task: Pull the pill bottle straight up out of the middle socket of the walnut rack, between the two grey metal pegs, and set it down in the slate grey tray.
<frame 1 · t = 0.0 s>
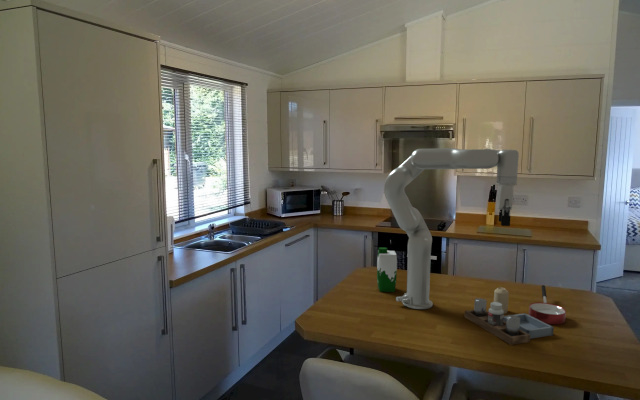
hand: (504, 223, 180), 37 cm above the table, tool pointing down, fingers open, 9 cm apart
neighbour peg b: (511, 338, 161), resting in socket rack
socket rack: (494, 328, 169), on the table
candle: (500, 311, 187), on the table
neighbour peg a: (479, 319, 178), resting in socket rack
pill bottle: (494, 329, 169), resting in socket rack
tray: (526, 329, 169), on the table
frying pan: (542, 310, 188), on the table
milk carton: (386, 289, 213), on the table
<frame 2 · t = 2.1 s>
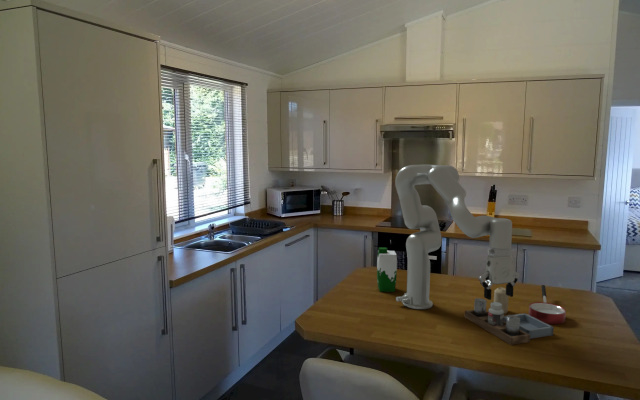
hand: (498, 297, 167), 12 cm above the table, tool pointing down, fingers open, 9 cm apart
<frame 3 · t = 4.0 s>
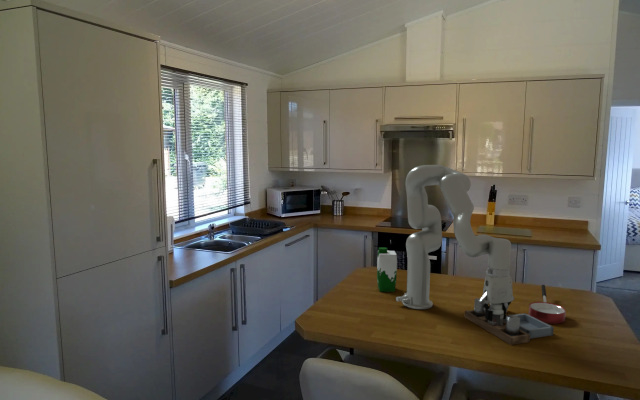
hand: (495, 318, 169), 4 cm above the table, tool pointing down, fingers closed on pill bottle, 5 cm apart
pill bottle: (494, 329, 169), resting in socket rack, touching gripper
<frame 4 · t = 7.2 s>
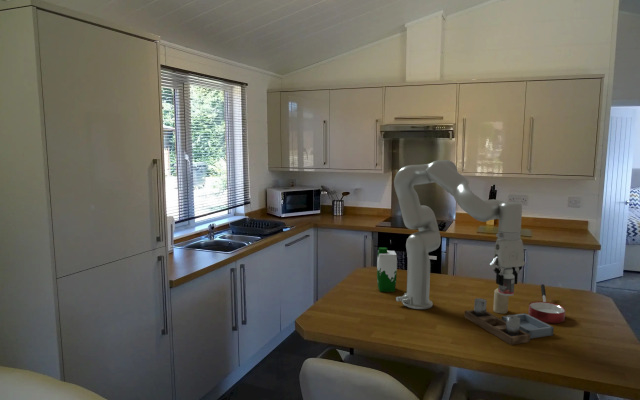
hand: (506, 283, 167), 18 cm above the table, tool pointing down, fingers closed on pill bottle, 5 cm apart
pill bottle: (506, 294, 167), point 13 cm above the table, touching gripper
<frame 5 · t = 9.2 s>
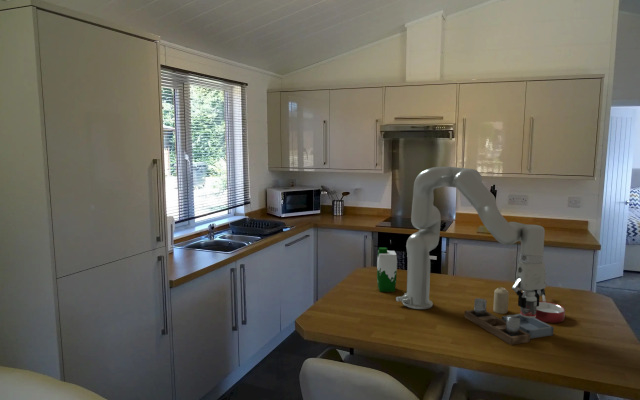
hand: (528, 305, 168), 9 cm above the table, tool pointing down, fingers closed on pill bottle, 5 cm apart
pill bottle: (528, 316, 168), point 5 cm above the table, touching gripper
when the fingers open (6 cm above the table, at t = 10.7 s): pill bottle drops 1 cm, resting on tray.
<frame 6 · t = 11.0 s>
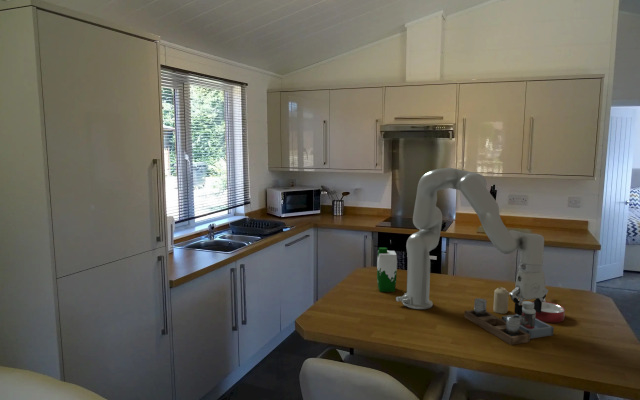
hand: (527, 312, 168), 7 cm above the table, tool pointing down, fingers open, 8 cm apart
pill bottle: (526, 328, 169), resting on tray
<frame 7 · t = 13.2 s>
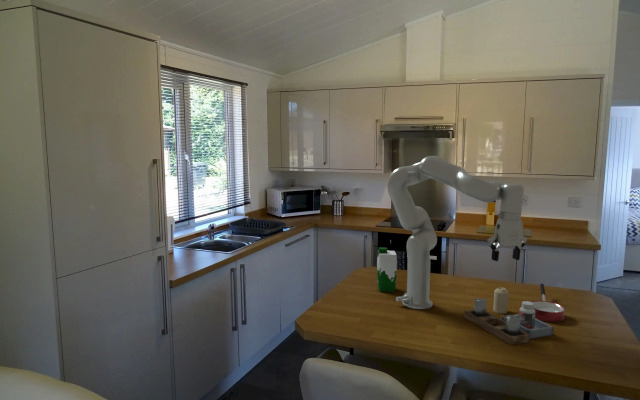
hand: (505, 259, 173), 25 cm above the table, tool pointing down, fingers open, 9 cm apart
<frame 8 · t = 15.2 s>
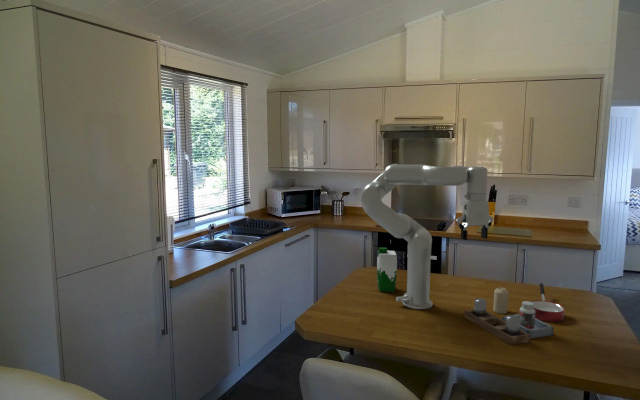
hand: (474, 238, 184), 30 cm above the table, tool pointing down, fingers open, 9 cm apart
at the end: pill bottle inside the target area on the tray (0.1 cm from its centre), point 0.3 cm above the tray's base; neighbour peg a moved 0.0 cm from its start; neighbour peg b moved 0.0 cm from its start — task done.
